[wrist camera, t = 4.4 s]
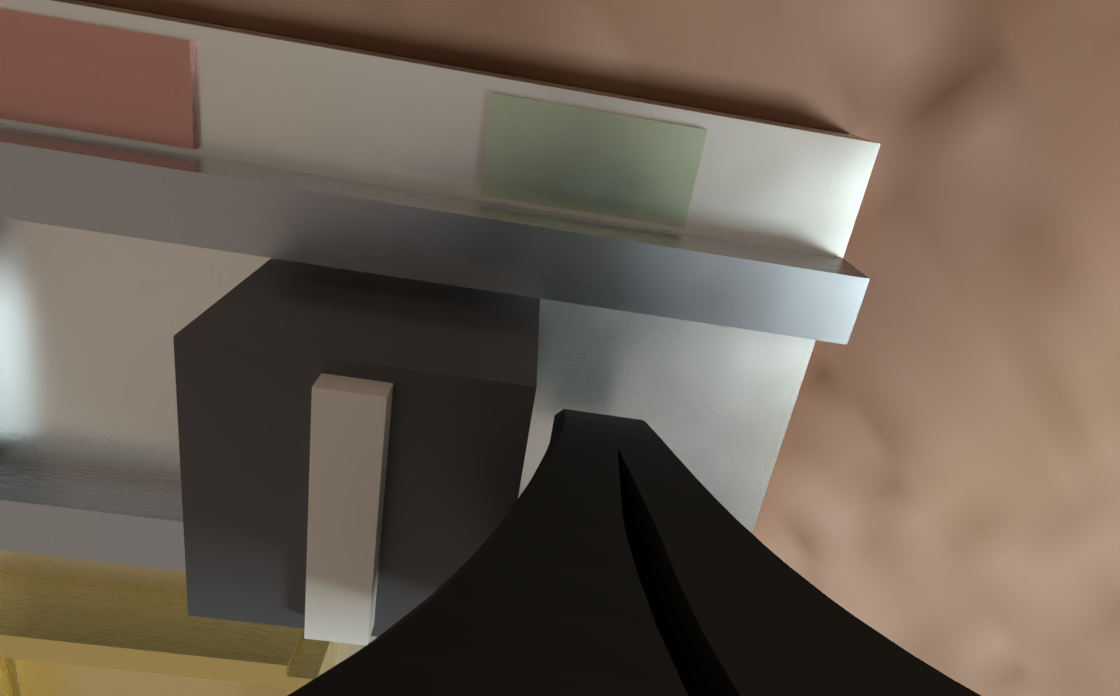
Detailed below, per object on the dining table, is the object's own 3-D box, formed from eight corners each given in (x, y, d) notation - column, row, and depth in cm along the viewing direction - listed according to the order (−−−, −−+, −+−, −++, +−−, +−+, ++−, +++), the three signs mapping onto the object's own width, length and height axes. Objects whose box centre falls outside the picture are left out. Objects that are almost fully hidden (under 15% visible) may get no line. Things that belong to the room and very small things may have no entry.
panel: (853, 135, 11) (928, 159, 9) (624, 863, 18) (634, 978, 16) (-105, -32, 10) (-289, -50, 8) (46, 812, 17) (-28, 926, 15)
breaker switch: (540, 298, 11) (536, 401, 8) (505, 513, 12) (490, 670, 9) (271, 258, 11) (156, 348, 8) (270, 484, 12) (175, 635, 9)
